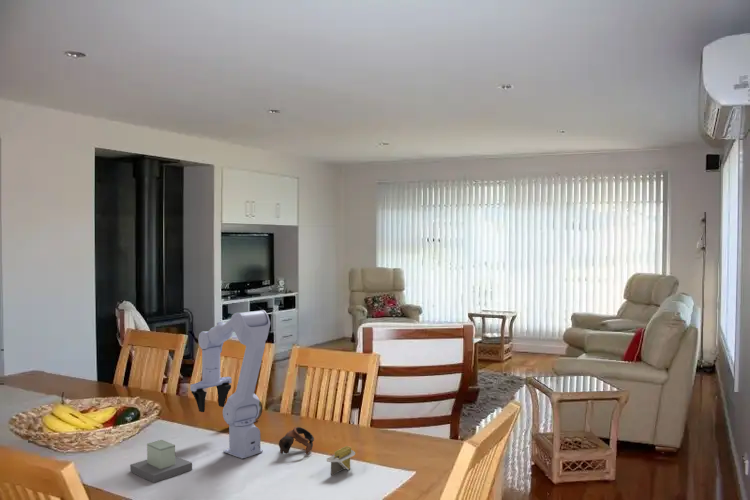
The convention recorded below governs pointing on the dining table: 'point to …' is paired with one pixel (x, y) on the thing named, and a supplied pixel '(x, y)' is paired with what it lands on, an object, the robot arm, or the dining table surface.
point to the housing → (161, 454)
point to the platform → (341, 459)
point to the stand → (158, 474)
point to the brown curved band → (295, 433)
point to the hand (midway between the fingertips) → (211, 408)
